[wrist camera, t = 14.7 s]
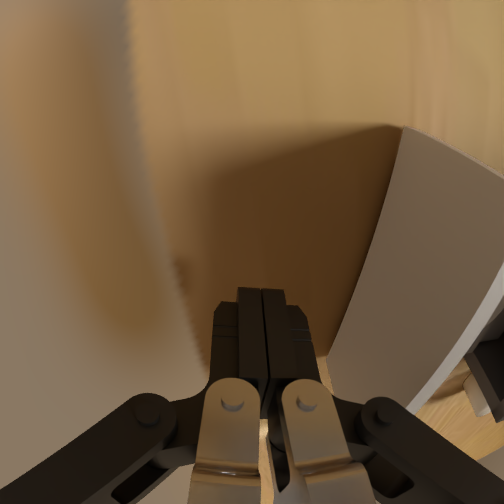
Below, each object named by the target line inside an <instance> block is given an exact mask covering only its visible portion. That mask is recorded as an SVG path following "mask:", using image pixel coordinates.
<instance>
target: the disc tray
mask: <svg viewBox="0 0 504 504" xmlns="http://www.w3.org/2000/svg"><path fill="white" fill-rule="evenodd" d="M503 295H504V175H503V174H501V173H499V172H498V171H496V170H495V169H493V168H491V167H490V166H488V165H486V164H485V163H483V162H481V161H479V160H478V159H476V158H474V157H472V156H471V155H469V154H467V153H465V152H463V151H461V150H460V149H458V148H456V147H454V146H452V145H450V144H448V143H446V142H444V141H442V140H440V139H438V138H436V137H434V136H432V135H430V134H428V133H426V132H423V131H421V130H418V129H415V128H412V127H408V126H405V125H404V128H403V132H402V137H401V141H400V145H399V149H398V153H397V157H396V161H395V165H394V169H393V173H392V176H391V180H390V184H389V187H388V191H387V194H386V198H385V201H384V205H383V208H382V211H381V214H380V218H379V221H378V224H377V227H376V230H375V233H374V237H373V240H372V243H371V246H370V249H369V251H368V254H367V257H366V260H365V263H364V266H363V269H362V271H361V274H360V277H359V280H358V282H357V285H356V288H355V290H354V293H353V296H352V298H351V301H350V303H349V306H348V309H347V311H346V314H345V316H344V319H343V321H342V323H341V326H340V328H339V331H338V333H337V335H336V338H335V340H334V342H333V345H332V347H331V349H330V352H329V354H328V356H327V358H326V363H327V367H328V371H329V375H330V379H331V383H332V387H333V391H334V396H335V397H337V398H339V399H342V400H346V401H350V402H355V403H360V404H365V403H366V402H367V401H368V400H370V399H372V398H374V397H388V398H391V399H393V400H394V401H396V402H397V403H399V404H400V405H401V406H403V407H404V408H405V409H407V410H408V411H409V412H410V413H412V414H413V415H415V414H416V413H417V411H418V410H419V409H420V408H421V407H422V406H423V405H424V404H425V403H426V402H427V400H428V399H429V398H430V397H431V396H432V395H433V394H434V392H435V391H436V390H437V389H438V388H439V387H440V385H441V384H442V383H443V382H444V381H445V379H446V378H447V377H448V376H449V374H450V373H451V372H452V371H453V369H454V368H455V367H456V365H457V364H458V363H459V361H460V360H461V359H462V357H463V356H464V355H465V354H467V353H472V352H473V351H474V349H475V348H476V346H477V345H478V344H479V342H483V341H489V340H495V339H498V338H499V337H500V336H501V334H502V333H503V331H504V308H503V310H502V311H501V312H500V313H499V314H498V315H497V317H496V318H495V319H494V320H493V321H491V322H490V323H489V324H488V325H487V326H486V327H484V326H485V325H486V323H487V321H488V320H489V318H490V317H491V315H492V314H493V312H494V310H495V309H496V307H497V305H498V304H499V302H500V300H501V299H502V297H503Z"/></svg>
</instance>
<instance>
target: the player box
mask: <svg viewBox="0 0 504 504" xmlns="http://www.w3.org/2000/svg"><path fill="white" fill-rule="evenodd" d="M463 357H464V359H465V361H466V362H467V364H468V366H469V368H470V370H471V372H472V374H473V376H474V377H475V379H476V381H477V383H478V385H479V387H480V389H481V391H482V393H483V395H484V397H485V399H486V402H487V404H488V406H489V408H490V410H491V412H492V414H493V417H494V419H495V421H496V423H498V422H500V421H503V420H504V331H503V333H502V334H501V336H500V337H499V338H498V339H495V340H489V341H483V342H479V344H478V345H477V346H476V348H475V349H474V351H473V352H472V353H467V354H465V355H464V356H463Z"/></svg>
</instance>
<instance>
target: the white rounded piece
mask: <svg viewBox="0 0 504 504" xmlns="http://www.w3.org/2000/svg"><path fill="white" fill-rule="evenodd" d="M463 388H464V390H465V392H466V394H467V397H468V399H469V401H470V403H471V405H472V407H473V410H474V412H475V414H476V416H477V417H481V416H483V415H486V414H488V413H489V412H491V410H490V408H489V406H488V404H487V402H486V399H485V397H484V395H483V393H482V391H481V389H480V387H479V385H478V383H477V381H476V379H475V377H474V376H473V374H470V375H469V376H468V378H467V379H466V380H465V381H464V383H463Z"/></svg>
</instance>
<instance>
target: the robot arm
mask: <svg viewBox="0 0 504 504" xmlns="http://www.w3.org/2000/svg"><path fill="white" fill-rule="evenodd" d="M260 419H268V433H267V436H266V445H267V451H268V458H269V464H270V470H271V476H272V483H273V489H274V501H273V504H376V501H375V499H376V500H377V501H378V502H380V503H381V504H504V481H503V480H502V479H500V478H499V477H497V476H496V475H495V474H493V473H492V472H490V471H489V470H487V469H486V468H485V467H483V466H482V465H481V464H479V463H478V462H476V461H475V460H474V459H472V458H471V457H470V456H468V455H467V454H465V453H464V452H463V451H461V450H460V449H459V448H457V447H456V446H455V445H453V444H452V443H450V442H449V441H448V440H446V439H445V438H444V437H442V436H441V435H440V434H438V433H437V432H436V431H434V430H433V429H432V428H430V427H429V426H428V425H426V424H425V423H424V422H422V421H421V420H420V419H418V418H417V417H416V416H414V415H413V414H412V413H410V412H409V411H408V410H407V409H405V408H404V407H403V406H401V405H400V404H399V403H397V402H396V401H394V400H393V399H391V398H388V397H374V398H372V399H370V400H368V401H367V402H366V403H365V404H360V403H355V402H350V401H346V400H342V399H339V398H337V397H335V396H333V395H332V394H331V393H330V391H329V390H328V389H327V388H326V387H325V386H324V385H323V384H322V382H321V379H320V375H319V371H318V366H317V361H316V357H315V352H314V348H313V343H312V342H311V334H310V332H309V326H308V321H307V317H306V316H305V314H304V313H303V312H302V310H301V309H300V308H299V307H298V306H294V305H286V300H285V294H284V290H280V289H264V288H261V290H260V288H247V287H238V290H237V299H236V302H223V301H221V303H220V304H219V306H218V307H217V308H216V310H215V311H214V319H213V332H212V346H211V361H210V376H209V381H208V383H207V385H206V387H205V388H204V389H203V390H202V391H201V392H200V393H198V394H197V395H195V396H193V397H190V398H187V399H182V400H176V401H172V402H169V401H168V400H167V399H165V398H164V397H162V396H160V395H157V394H152V393H143V394H138V395H136V396H133V397H132V398H130V399H129V400H127V401H126V402H125V403H124V404H122V405H121V406H119V407H118V408H117V409H115V410H114V411H113V412H111V413H110V414H109V415H107V416H106V417H104V418H103V419H102V420H100V421H99V422H98V423H96V424H95V425H93V426H92V427H91V428H90V429H88V430H87V431H85V432H84V433H82V434H81V435H80V436H78V437H77V438H75V439H74V440H73V441H71V442H70V443H68V444H67V445H66V446H64V447H63V448H61V449H60V450H58V451H57V452H56V453H54V454H53V455H51V456H50V457H49V458H47V459H45V460H44V461H43V462H41V463H40V464H38V465H37V466H35V467H34V468H32V469H31V470H29V471H28V472H26V473H25V474H24V475H22V476H20V477H19V478H18V479H16V480H14V481H13V482H11V483H10V484H8V485H7V486H5V487H3V488H2V489H0V504H136V503H137V502H139V501H140V500H141V499H142V498H144V497H145V496H146V495H147V494H148V493H150V492H151V491H152V490H153V489H154V488H155V487H157V486H158V485H159V484H160V483H161V482H162V481H163V480H165V479H166V478H167V477H168V476H169V475H170V474H171V473H172V472H174V471H175V470H176V469H177V468H178V467H179V466H184V465H189V464H194V463H195V465H194V467H193V470H192V475H191V481H190V488H189V496H188V502H187V504H260V501H261V477H260V473H259V470H258V458H259V427H260Z"/></svg>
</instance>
